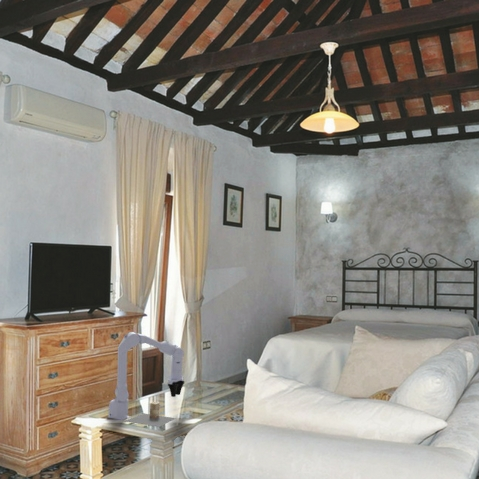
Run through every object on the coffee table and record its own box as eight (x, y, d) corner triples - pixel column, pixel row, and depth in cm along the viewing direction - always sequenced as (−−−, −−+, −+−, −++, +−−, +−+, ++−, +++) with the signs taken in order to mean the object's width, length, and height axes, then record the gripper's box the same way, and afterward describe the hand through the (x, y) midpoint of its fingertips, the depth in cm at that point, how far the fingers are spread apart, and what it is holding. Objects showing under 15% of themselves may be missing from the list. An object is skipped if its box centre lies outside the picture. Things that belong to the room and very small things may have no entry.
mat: (124, 422, 285) (124, 421, 285) (142, 413, 302) (142, 413, 302) (159, 427, 278) (159, 426, 278) (176, 419, 295) (176, 418, 295)
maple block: (149, 417, 295) (150, 403, 295) (152, 415, 298) (153, 401, 298) (155, 418, 293) (156, 404, 294) (159, 416, 297) (159, 402, 297)
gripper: (177, 372, 295) (175, 399, 294) (189, 368, 308) (188, 393, 308) (165, 371, 297) (163, 397, 297) (177, 367, 311) (176, 392, 310)
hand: (175, 395), depth 302 cm, fingers open, 5 cm apart
